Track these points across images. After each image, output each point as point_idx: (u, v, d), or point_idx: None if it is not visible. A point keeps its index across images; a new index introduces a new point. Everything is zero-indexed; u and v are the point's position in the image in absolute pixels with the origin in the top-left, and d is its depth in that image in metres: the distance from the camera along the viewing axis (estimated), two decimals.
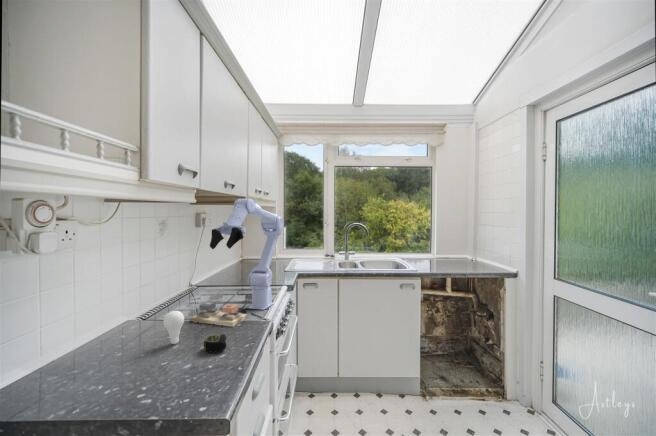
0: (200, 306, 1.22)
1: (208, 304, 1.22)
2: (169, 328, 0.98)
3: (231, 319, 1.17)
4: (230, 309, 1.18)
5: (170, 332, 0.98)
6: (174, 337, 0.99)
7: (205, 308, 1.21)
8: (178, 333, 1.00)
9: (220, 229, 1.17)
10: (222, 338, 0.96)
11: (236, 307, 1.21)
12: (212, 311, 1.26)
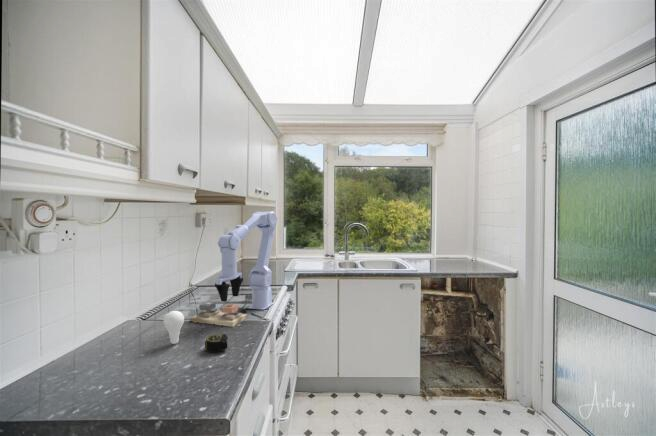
0: (200, 306, 1.22)
1: (208, 304, 1.22)
2: (169, 328, 0.98)
3: (231, 319, 1.17)
4: (230, 309, 1.18)
5: (170, 332, 0.98)
6: (174, 337, 0.99)
7: (205, 308, 1.21)
8: (178, 333, 1.00)
9: None
10: (223, 338, 0.96)
11: (236, 307, 1.21)
12: (212, 311, 1.26)
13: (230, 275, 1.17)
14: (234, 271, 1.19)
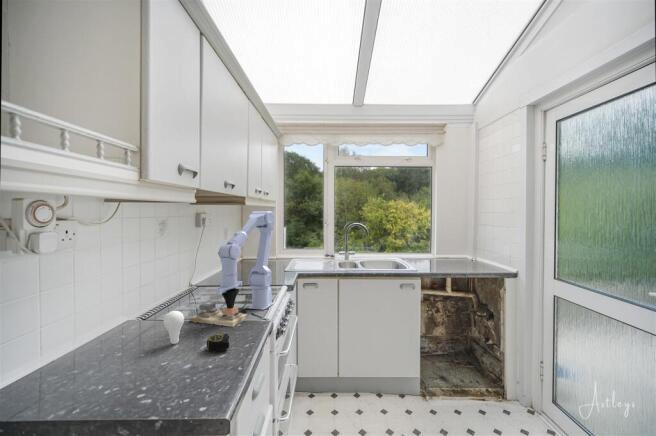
0: (200, 306, 1.22)
1: (208, 304, 1.22)
2: (169, 328, 0.98)
3: (231, 319, 1.17)
4: (230, 311, 1.18)
5: (170, 332, 0.98)
6: (174, 337, 0.99)
7: (205, 308, 1.21)
8: (178, 333, 1.00)
9: None
10: (225, 337, 0.96)
11: (236, 309, 1.21)
12: (212, 311, 1.26)
13: (230, 285, 1.18)
14: (234, 280, 1.19)
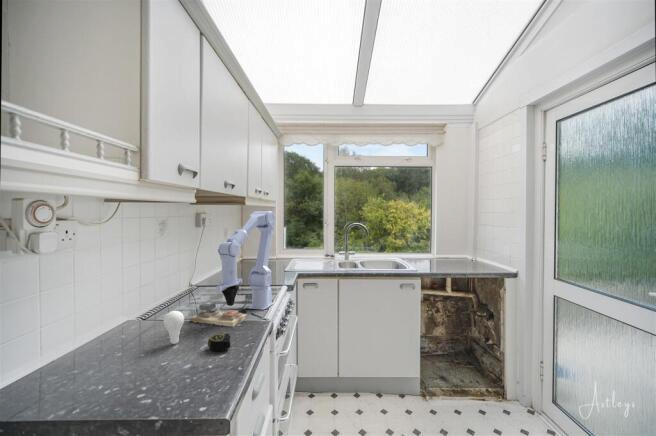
0: (200, 306, 1.22)
1: (208, 304, 1.22)
2: (169, 328, 0.98)
3: (231, 319, 1.17)
4: (230, 316, 1.18)
5: (170, 332, 0.98)
6: (174, 337, 0.99)
7: (205, 308, 1.21)
8: (178, 333, 1.00)
9: None
10: (226, 337, 0.97)
11: (236, 313, 1.21)
12: (212, 311, 1.26)
13: (230, 282, 1.18)
14: (234, 278, 1.19)
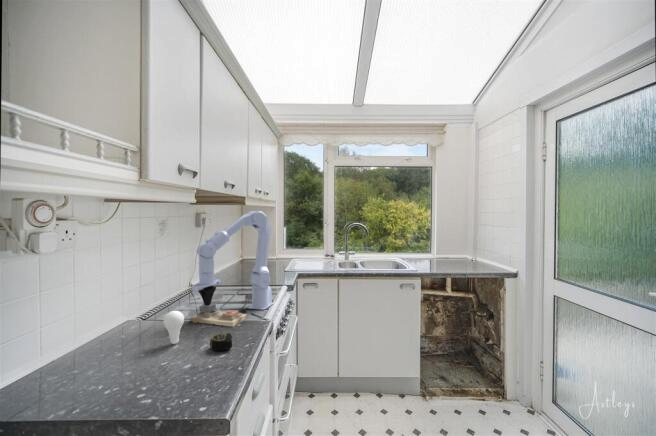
0: (200, 308, 1.22)
1: (208, 306, 1.22)
2: (169, 328, 0.98)
3: (231, 319, 1.17)
4: (230, 316, 1.18)
5: (170, 332, 0.98)
6: (174, 337, 0.99)
7: (205, 310, 1.21)
8: (178, 333, 1.00)
9: None
10: (228, 337, 0.97)
11: (236, 313, 1.21)
12: (212, 311, 1.26)
13: (207, 282, 1.21)
14: (211, 278, 1.22)
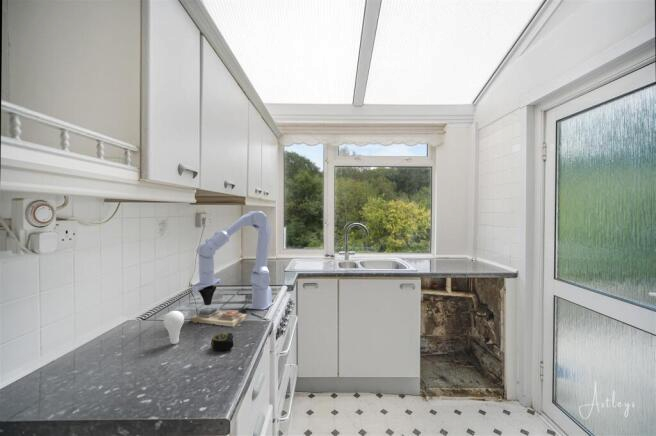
0: (200, 312, 1.22)
1: (208, 310, 1.23)
2: (169, 328, 0.98)
3: (231, 319, 1.17)
4: (230, 316, 1.18)
5: (170, 332, 0.98)
6: (174, 337, 0.99)
7: (205, 314, 1.21)
8: (178, 333, 1.00)
9: None
10: (229, 337, 0.97)
11: (236, 313, 1.21)
12: None
13: (207, 282, 1.21)
14: (211, 278, 1.22)
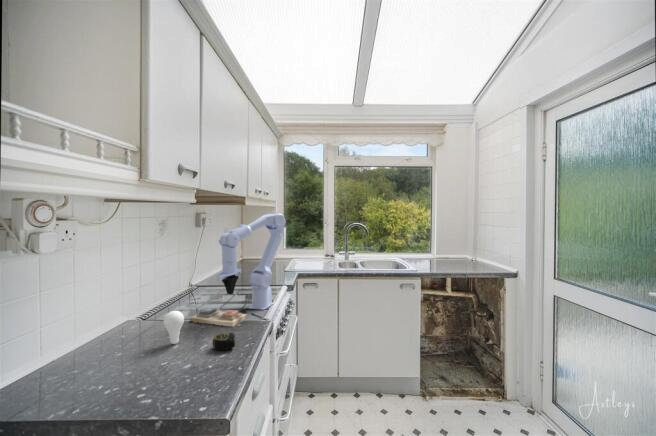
0: (200, 312, 1.22)
1: (208, 310, 1.23)
2: (169, 328, 0.98)
3: (231, 319, 1.17)
4: (230, 316, 1.18)
5: (170, 332, 0.98)
6: (174, 337, 0.99)
7: (205, 314, 1.21)
8: (178, 333, 1.00)
9: None
10: (231, 336, 0.97)
11: (236, 313, 1.21)
12: None
13: (230, 271, 1.23)
14: (234, 268, 1.24)
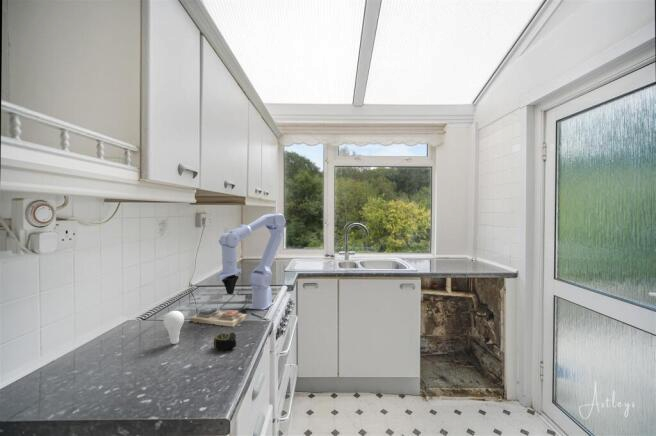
0: (200, 312, 1.22)
1: (208, 310, 1.23)
2: (169, 328, 0.98)
3: (231, 319, 1.17)
4: (230, 316, 1.18)
5: (170, 332, 0.98)
6: (174, 337, 0.99)
7: (205, 314, 1.21)
8: (178, 333, 1.00)
9: None
10: (232, 336, 0.97)
11: (236, 313, 1.21)
12: None
13: (230, 271, 1.23)
14: (234, 268, 1.24)
